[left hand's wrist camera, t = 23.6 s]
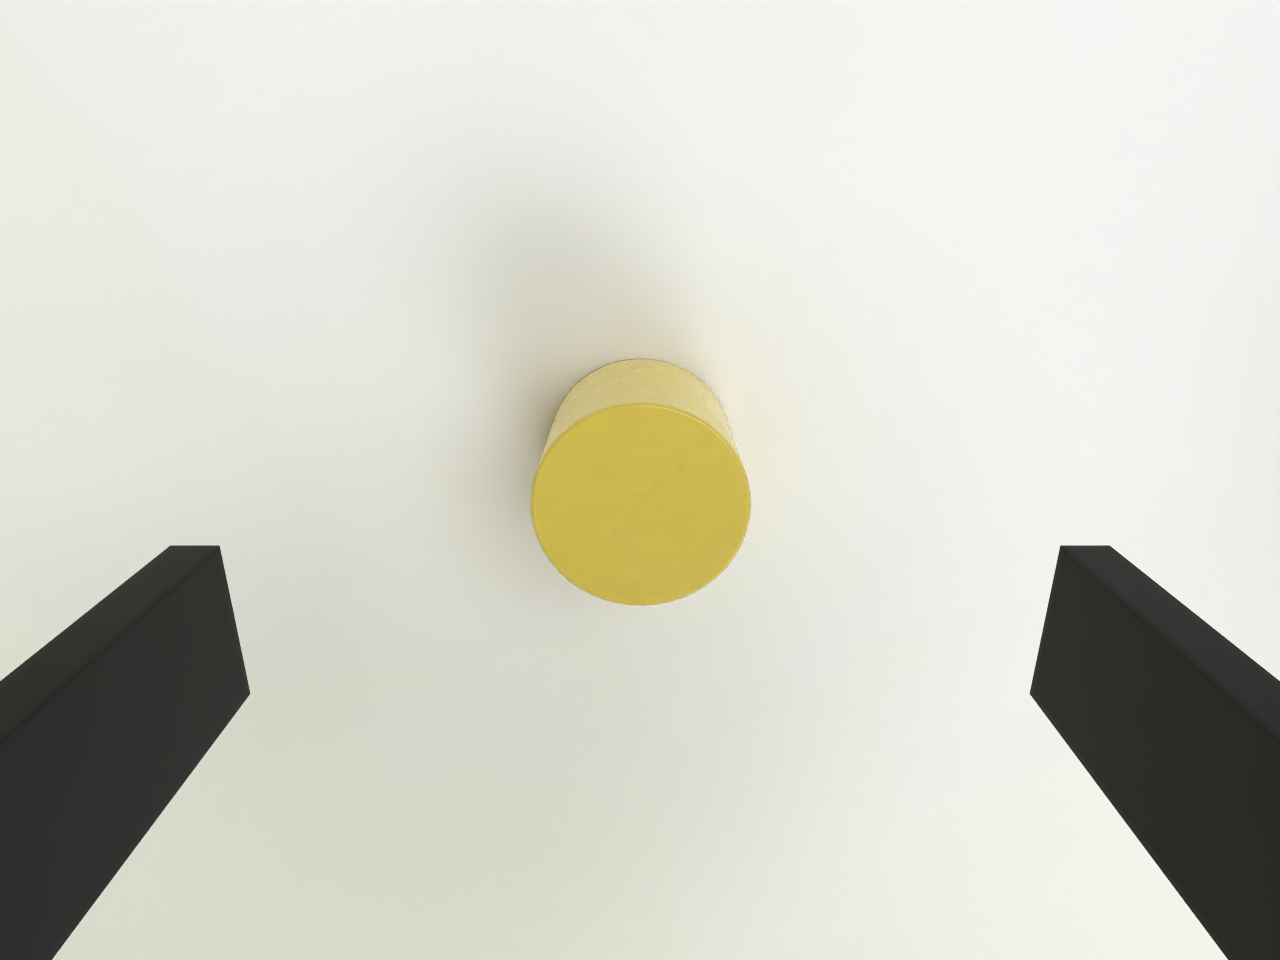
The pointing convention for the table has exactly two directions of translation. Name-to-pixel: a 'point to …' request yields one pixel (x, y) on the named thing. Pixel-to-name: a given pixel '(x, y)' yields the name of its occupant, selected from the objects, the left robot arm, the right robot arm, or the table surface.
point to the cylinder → (640, 485)
